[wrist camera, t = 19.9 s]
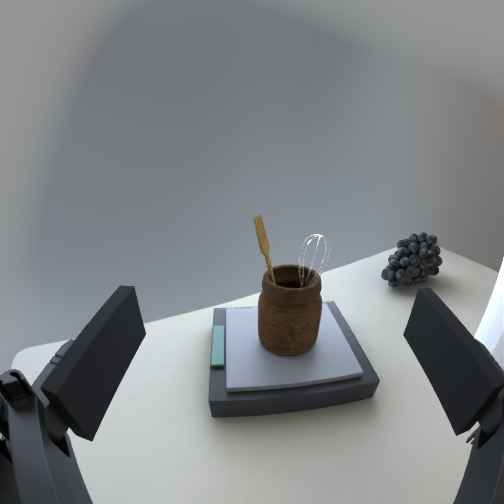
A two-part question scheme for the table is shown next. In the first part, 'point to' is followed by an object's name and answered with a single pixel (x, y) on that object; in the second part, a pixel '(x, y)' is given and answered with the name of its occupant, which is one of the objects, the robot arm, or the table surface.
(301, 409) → the scale
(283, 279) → the utensil holder
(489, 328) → the can
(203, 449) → the table surface
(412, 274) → the fruit
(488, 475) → the robot arm
